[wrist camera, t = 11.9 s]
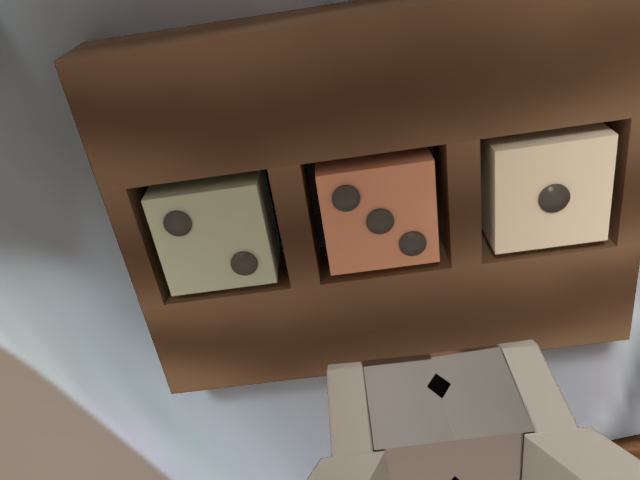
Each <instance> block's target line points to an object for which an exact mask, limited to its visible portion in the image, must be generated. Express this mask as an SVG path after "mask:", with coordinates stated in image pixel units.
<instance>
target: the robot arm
mask: <svg viewBox="0 0 640 480" xmlns="http://www.w3.org/2000/svg"><path fill="white" fill-rule="evenodd" d="M363 369H364V373H363ZM364 378H365V380H364ZM327 388H328V406H329V425H330V443H331V457H326V458H321V459H320V460H319V462H318V463H317V465H316V466H315V468H314V469H313V471H312V472H311V474H310V476H309V477H308V479H307V480H640V460H639V459H638V458H636V457H635V456H633V455H632V454H630V453H629V452H627V451H626V450H624V449H623V448H621V447H620V446H618V445H617V444H615V443H614V442H612V441H611V440H609V439H608V438H606V437H605V436H603V435H602V434H600V433H599V432H597V431H596V430H594V429H593V428H591V427H583V428H579V427H578V425H577V423H576V421H575V419H574V417H573V415H572V412H571V410H570V408H569V406H568V404H567V402H566V400H565V398H564V396H563V394H562V392H561V390H560V388H559V386H558V384H557V382H556V380H555V378H554V376H553V374H552V372H551V370H550V368H549V366H548V364H547V362H546V360H545V358H544V356H543V354H542V352H541V350H540V348H539V346H538V344H537V343H536V342H535V341H533V340H524V341H517V342H510V343H503V344H498V345H497V346H496V345H489V346H482V347H474V348H467V349H460V350H452V351H445V352H437V353H430V354H424V355H414V356H404V357H394V358H384V359H374V360H364V361H363V366H362V362H352V363H341V364H330V365H328V368H327Z"/></svg>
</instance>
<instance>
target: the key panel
mask: <svg viewBox="0 0 640 480" xmlns="http://www.w3.org/2000/svg"><path fill="white" fill-rule="evenodd" d="M54 64H55V67H56V69H57V72H58V75H59V78H60V81H61V84H62V86H63V89H64V92H65V95H66V98H67V100H68V103H69V106H70V109H71V112H72V115H73V117H74V120H75V123H76V126H77V129H78V131H79V134H80V137H81V140H82V143H83V146H84V148H85V151H86V154H87V157H88V160H89V162H90V165H91V168H92V171H93V174H94V176H95V179H96V182H97V185H98V188H99V191H100V193H101V196H102V199H103V202H104V205H105V207H106V210H107V213H108V216H109V219H110V222H111V224H112V227H113V230H114V233H115V236H116V238H117V241H118V244H119V247H120V250H121V253H122V255H123V258H124V261H125V264H126V267H127V269H128V272H129V275H130V278H131V281H132V283H133V286H134V289H135V292H136V295H137V298H138V300H139V303H140V306H141V309H142V312H143V314H144V317H145V320H146V323H147V326H148V329H149V331H150V334H151V337H152V340H153V343H154V345H155V348H156V351H157V354H158V357H159V360H160V362H161V365H162V368H163V371H164V374H165V376H166V379H167V382H168V385H169V388H170V391H171V393H172V394H175V393H184V392H192V391H200V390H209V389H217V388H225V387H234V386H242V385H251V384H259V383H267V382H276V381H284V380H292V379H301V378H309V377H318V376H326V375H327V368H328V365H330V364H341V363H352V362H362V366H363V361H364V360H374V359H384V358H394V357H404V356H414V355H424V354H430V353H437V352H445V351H452V350H460V349H467V348H474V347H482V346H489V345H496V346H497V345H498V344H503V343H510V342H517V341H524V340H533V341H535V342H536V343H537V344H538V346H539V348H540V350H544V349H552V348H560V347H569V346H577V345H586V344H594V343H602V342H611V341H619V340H627V339H629V337H630V330H631V322H632V315H633V308H634V300H635V293H636V286H637V278H638V271H639V263H640V0H357V1H351V2H344V3H338V4H331V5H325V6H318V7H312V8H305V9H299V10H292V11H286V12H279V13H273V14H266V15H260V16H253V17H247V18H240V19H234V20H228V21H221V22H215V23H208V24H202V25H195V26H189V27H182V28H176V29H169V30H163V31H156V32H150V33H143V34H137V35H130V36H124V37H117V38H111V39H104V40H98V41H92V42H85V43H81V44H80V45H78V46H77V47H75V48H74V49H72V50H71V51H69V52H68V53H66V54H65V55H63V56H62V57H60V58H59V59H57V60H56V61H54ZM601 122H603V123H604V124H606V125H607V126H608V127H609V128H611V129H612V130H613V131H614V132H616V133H617V134H618V144H617V154H616V164H615V173H614V183H613V193H612V203H611V212H610V222H609V232H608V240H605V241H597V242H589V243H581V244H574V245H566V246H558V247H550V248H543V249H535V250H527V251H519V252H512V253H504V254H496V255H495V253H494V251H493V249H492V247H491V245H490V243H489V241H488V239H487V237H486V236H485V234H484V232H483V230H482V228H481V161H480V139H487V138H494V137H501V136H508V135H516V134H523V133H530V132H537V131H544V130H551V129H559V128H566V127H573V126H580V125H587V124H594V123H601ZM430 146H434V159H435V177H436V196H437V214H438V232H439V233H438V236H439V254H440V262H434V263H426V264H418V265H411V266H403V267H395V268H387V269H380V270H372V271H364V272H356V273H348V274H341V275H333V276H331V273H330V267H329V261H328V254H327V248H321V249H320V248H319V242H318V236H317V230H316V224H315V218H314V212H313V206H312V200H311V195H310V189H309V183H308V177H307V171H306V165H305V164H308V163H315V162H322V161H329V160H337V159H344V158H351V157H358V156H365V155H372V154H380V153H387V152H394V151H401V150H408V149H415V148H423V147H430ZM265 169H267V171H268V176H269V181H270V186H271V191H272V196H273V201H274V206H275V211H276V216H277V221H278V225H279V230H280V235H281V240H282V245H283V250H284V253H283V254H280V255H279V268H278V280H277V283H271V284H263V285H255V286H248V287H240V288H232V289H224V290H216V291H209V292H201V293H193V294H185V295H178V296H171V293H170V290H169V287H168V284H167V280H166V277H165V274H164V271H163V268H162V265H161V262H160V259H159V256H158V252H157V249H156V246H155V243H154V240H153V237H152V234H151V231H150V228H149V224H148V221H147V218H146V215H145V212H144V209H143V206H142V203H141V200H142V198H143V196H144V194H145V192H146V191H147V189H148V187H149V186H150V185H158V184H165V183H172V182H179V181H186V180H193V179H201V178H208V177H215V176H222V175H229V174H236V173H244V172H251V171H258V170H265ZM363 371H364V369H363Z"/></svg>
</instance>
